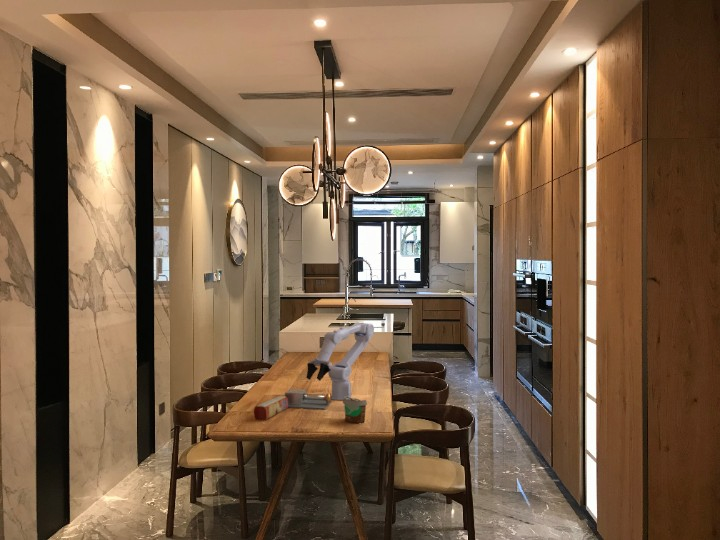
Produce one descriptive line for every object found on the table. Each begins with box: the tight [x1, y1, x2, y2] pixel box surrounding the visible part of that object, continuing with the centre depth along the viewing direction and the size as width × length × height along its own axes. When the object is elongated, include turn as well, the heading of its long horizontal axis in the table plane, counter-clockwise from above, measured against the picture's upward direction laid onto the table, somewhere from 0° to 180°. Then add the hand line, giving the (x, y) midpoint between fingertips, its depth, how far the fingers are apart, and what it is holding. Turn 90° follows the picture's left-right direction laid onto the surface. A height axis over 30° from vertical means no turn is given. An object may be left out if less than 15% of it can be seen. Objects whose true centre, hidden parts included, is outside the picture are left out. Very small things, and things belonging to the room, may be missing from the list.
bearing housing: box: [284, 388, 307, 405], centre depth 267 cm, size 8×8×6 cm
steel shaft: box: [303, 393, 332, 404], centre depth 265 cm, size 16×4×4 cm, turn 80°
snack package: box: [253, 395, 289, 421], centre depth 250 cm, size 21×7×7 cm, turn 160°
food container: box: [342, 395, 368, 425], centre depth 239 cm, size 12×6×10 cm, turn 45°
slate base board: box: [287, 399, 333, 411], centre depth 266 cm, size 22×14×1 cm, turn 80°
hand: (313, 379), depth 263 cm, fingers open, 7 cm apart
